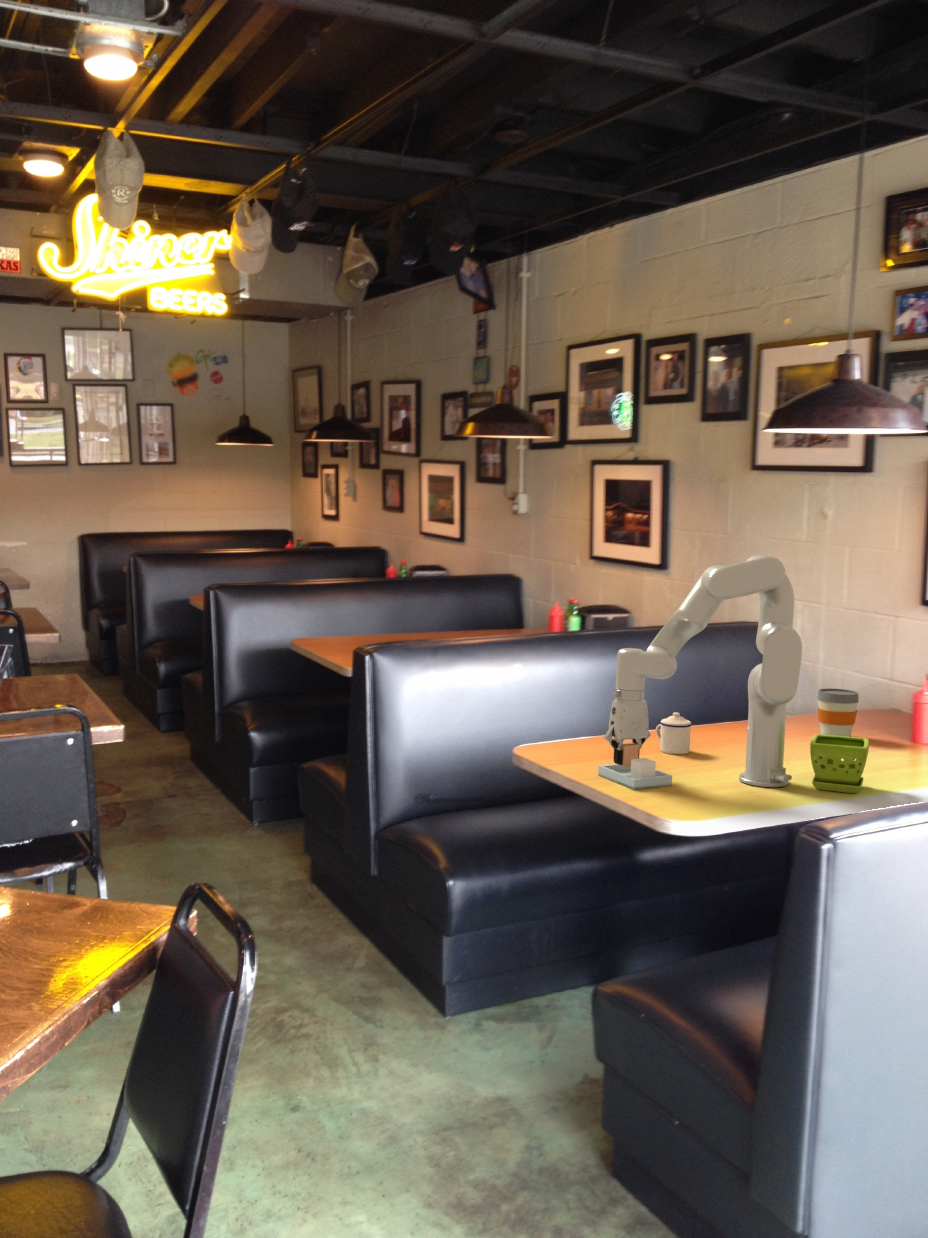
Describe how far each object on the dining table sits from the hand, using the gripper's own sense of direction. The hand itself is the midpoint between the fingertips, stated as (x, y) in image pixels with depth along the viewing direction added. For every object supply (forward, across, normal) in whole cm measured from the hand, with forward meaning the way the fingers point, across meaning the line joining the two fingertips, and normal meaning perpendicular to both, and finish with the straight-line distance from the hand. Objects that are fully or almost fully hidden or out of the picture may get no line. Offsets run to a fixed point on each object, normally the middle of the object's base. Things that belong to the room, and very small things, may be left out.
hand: (626, 762), depth 270 cm
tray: (+4, 0, -4) cm, 5 cm away
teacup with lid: (+4, +32, +21) cm, 39 cm away
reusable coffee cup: (+3, +95, +17) cm, 96 cm away
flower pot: (+4, +46, -30) cm, 55 cm away
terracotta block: (0, 0, 0) cm, 0 cm away
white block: (+3, 0, -7) cm, 8 cm away
